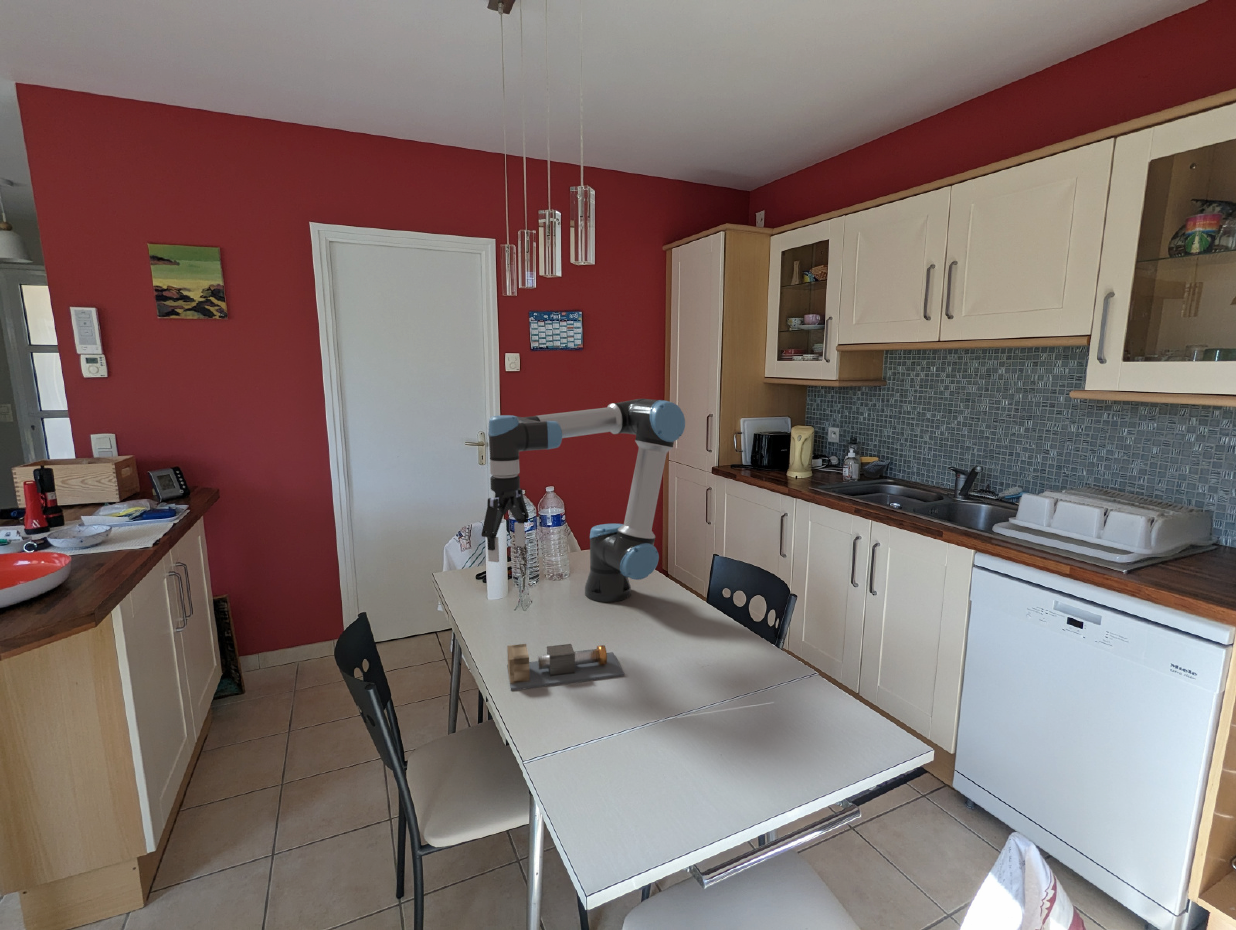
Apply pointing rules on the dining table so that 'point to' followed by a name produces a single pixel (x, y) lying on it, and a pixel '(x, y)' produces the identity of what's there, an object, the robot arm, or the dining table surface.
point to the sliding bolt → (579, 657)
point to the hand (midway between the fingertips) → (507, 553)
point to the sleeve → (561, 660)
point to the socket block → (518, 663)
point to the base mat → (581, 674)
